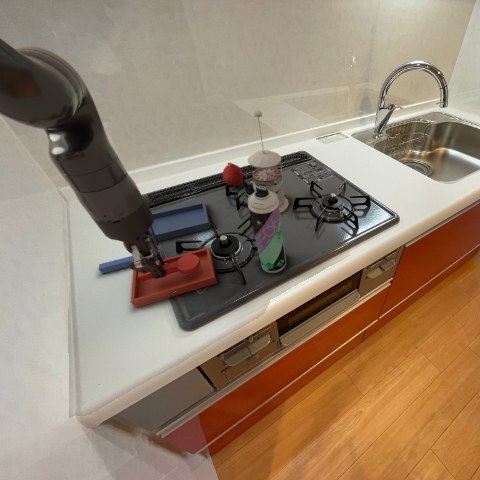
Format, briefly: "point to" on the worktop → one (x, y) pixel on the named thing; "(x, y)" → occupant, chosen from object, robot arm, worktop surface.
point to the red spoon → (176, 267)
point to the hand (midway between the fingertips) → (161, 272)
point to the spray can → (267, 229)
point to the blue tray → (180, 221)
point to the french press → (268, 170)
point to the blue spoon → (115, 264)
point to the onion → (233, 174)
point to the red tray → (174, 280)
